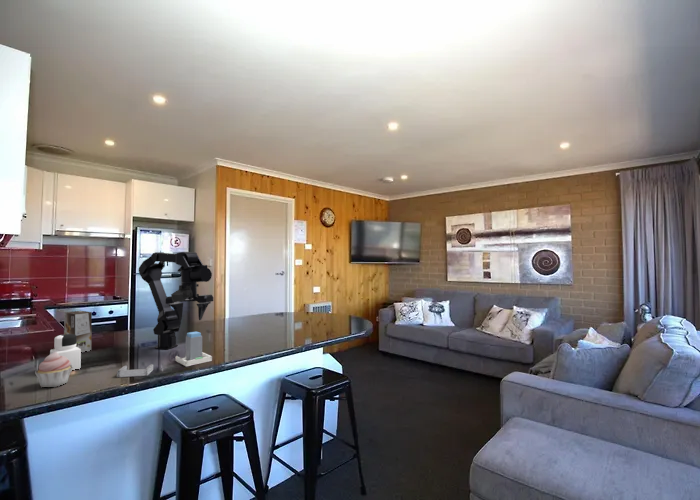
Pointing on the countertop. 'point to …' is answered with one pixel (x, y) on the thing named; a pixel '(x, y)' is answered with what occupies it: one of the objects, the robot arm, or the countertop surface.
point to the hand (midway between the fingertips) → (190, 320)
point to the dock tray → (202, 359)
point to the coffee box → (79, 328)
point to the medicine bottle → (68, 349)
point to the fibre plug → (193, 346)
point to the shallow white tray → (134, 371)
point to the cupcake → (54, 370)
